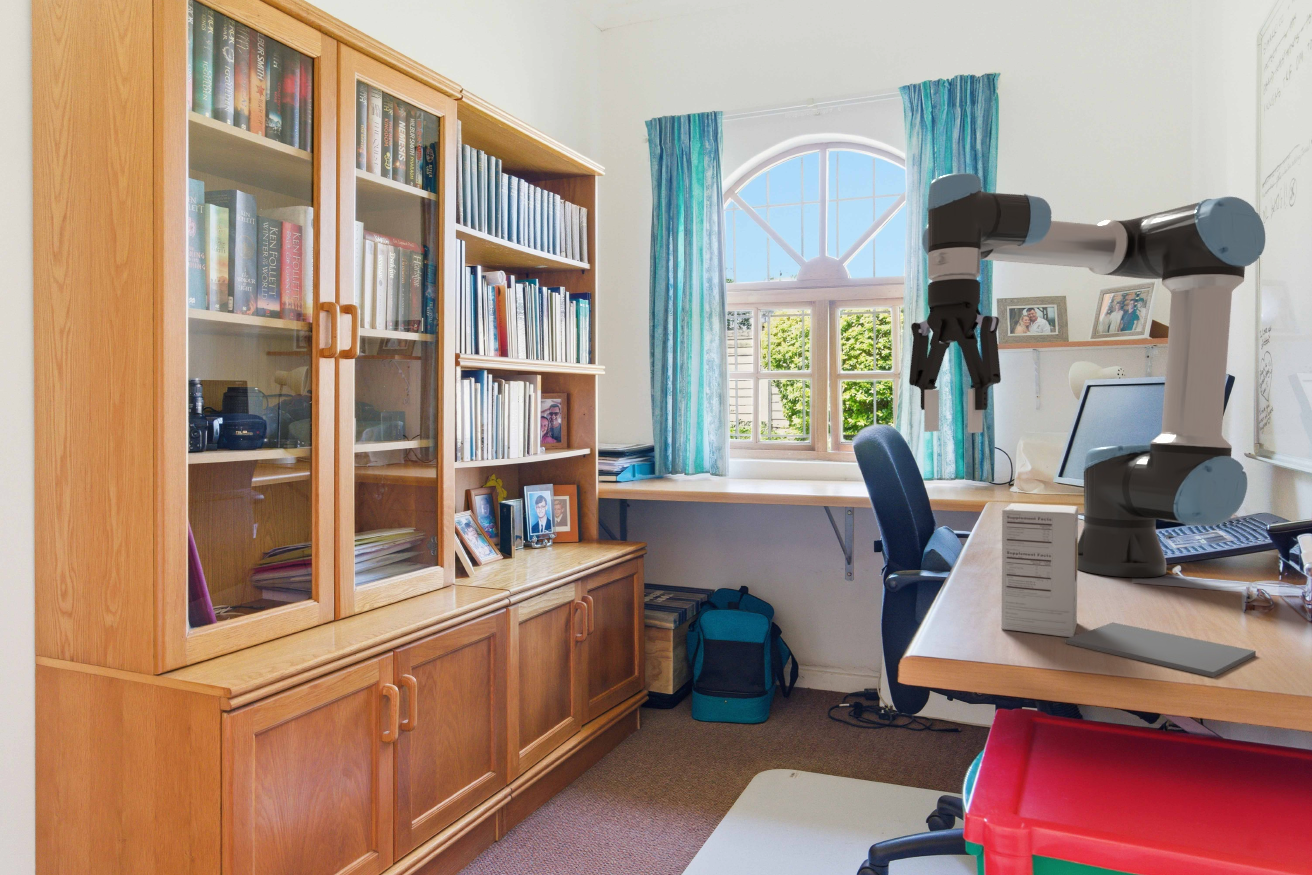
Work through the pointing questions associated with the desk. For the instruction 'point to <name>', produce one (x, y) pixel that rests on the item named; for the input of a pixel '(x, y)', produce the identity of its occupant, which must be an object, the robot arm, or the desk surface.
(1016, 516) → the supplement box
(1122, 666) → the desk surface
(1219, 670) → the mat
